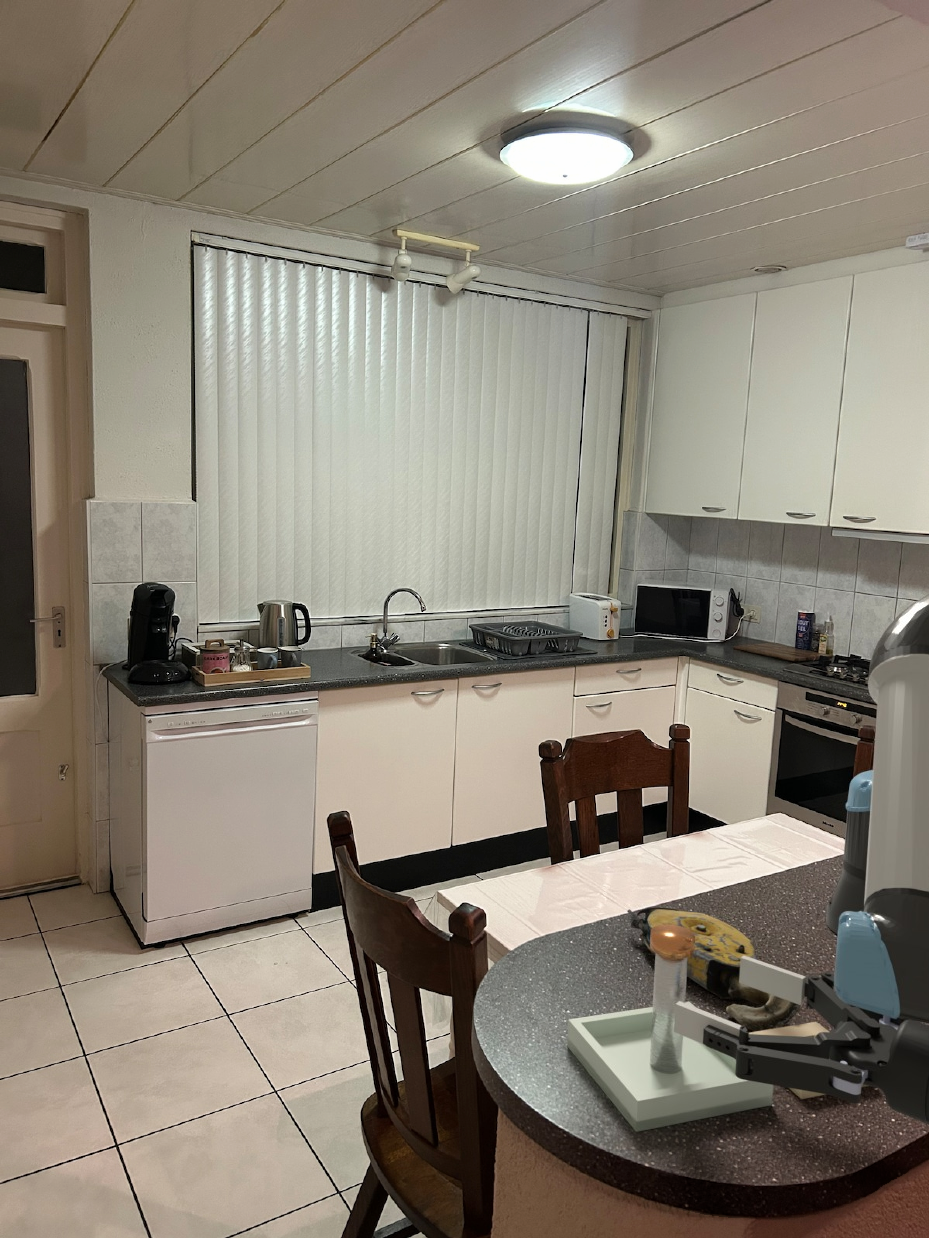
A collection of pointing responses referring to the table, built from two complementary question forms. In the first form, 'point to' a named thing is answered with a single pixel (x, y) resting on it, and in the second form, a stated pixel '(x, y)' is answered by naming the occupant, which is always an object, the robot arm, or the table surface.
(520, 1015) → the table surface
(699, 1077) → the pale green tray
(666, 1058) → the steel pin
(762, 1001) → the pulley block
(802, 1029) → the bracket
